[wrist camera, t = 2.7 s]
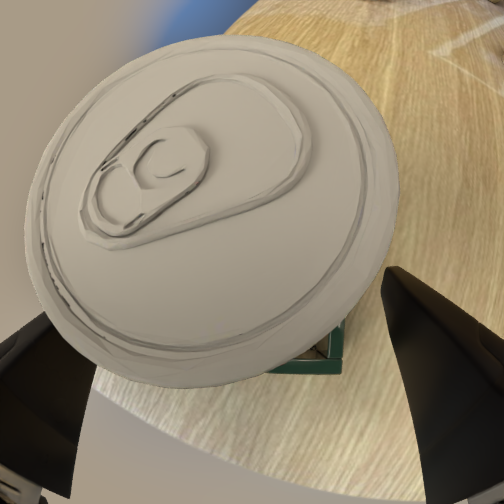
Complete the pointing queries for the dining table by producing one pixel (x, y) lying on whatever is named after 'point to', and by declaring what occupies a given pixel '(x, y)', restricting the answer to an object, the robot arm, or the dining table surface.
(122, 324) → the beverage can
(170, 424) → the dining table surface
